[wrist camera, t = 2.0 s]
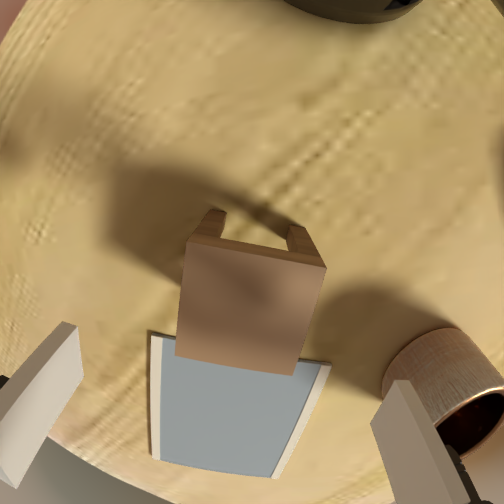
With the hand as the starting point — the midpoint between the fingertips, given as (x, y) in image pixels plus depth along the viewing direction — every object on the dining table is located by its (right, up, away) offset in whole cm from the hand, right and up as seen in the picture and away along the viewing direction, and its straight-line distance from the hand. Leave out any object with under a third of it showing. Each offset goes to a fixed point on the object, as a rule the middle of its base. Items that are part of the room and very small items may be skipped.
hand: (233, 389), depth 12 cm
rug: (-2, -12, +18) cm, 22 cm away
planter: (+19, -7, +16) cm, 26 cm away
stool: (0, +4, +13) cm, 13 cm away
